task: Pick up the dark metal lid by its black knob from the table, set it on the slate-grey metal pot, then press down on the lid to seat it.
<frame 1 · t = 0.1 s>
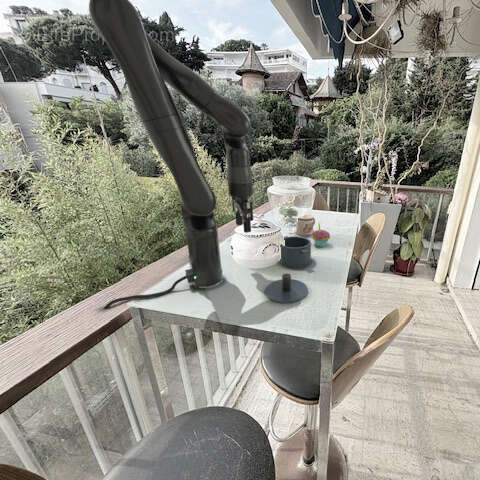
hand: (243, 228, 91), 17 cm above the table, tool pointing down, fingers open, 8 cm apart
lid: (286, 291, 85), point 1 cm above the table
teacup with lid: (306, 232, 140), on the table
cupcake: (320, 245, 125), on the table
pot: (294, 261, 107), on the table
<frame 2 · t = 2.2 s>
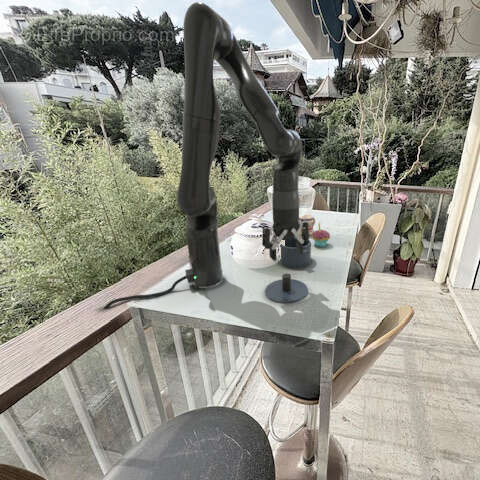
hand: (286, 256, 81), 13 cm above the table, tool pointing down, fingers open, 8 cm apart
nothing on the table moved.
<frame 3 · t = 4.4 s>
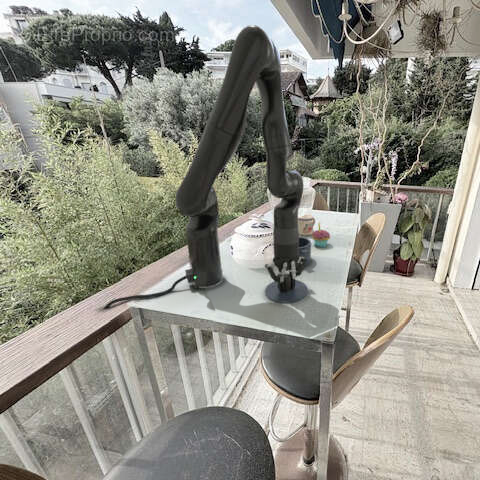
hand: (286, 289, 85), 1 cm above the table, tool pointing down, fingers closed on lid, 3 cm apart
lid: (286, 291, 85), point 1 cm above the table, touching gripper
everything else where it was.
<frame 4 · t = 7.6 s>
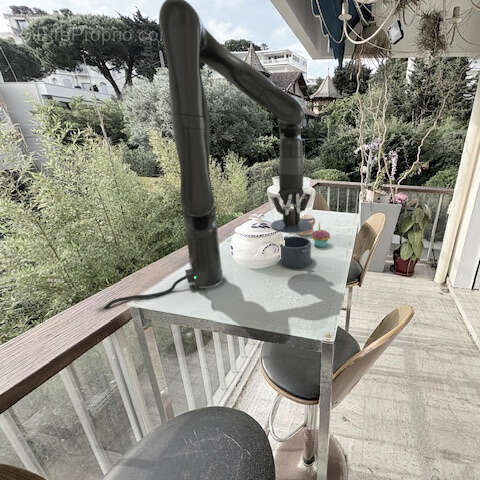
hand: (291, 223, 89), 20 cm above the table, tool pointing down, fingers closed on lid, 3 cm apart
lid: (291, 226, 90), point 19 cm above the table, touching gripper
everything else where it was.
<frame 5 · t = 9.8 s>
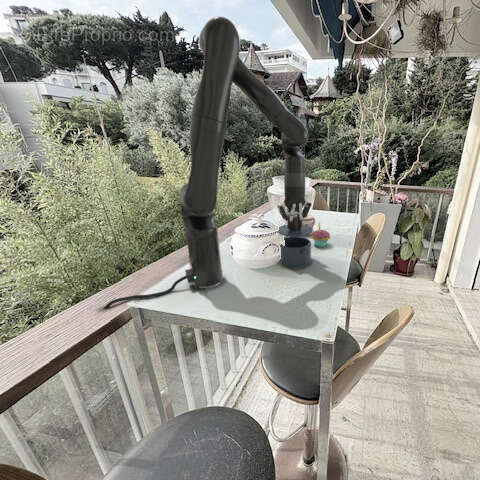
hand: (294, 229, 102), 14 cm above the table, tool pointing down, fingers closed on lid, 3 cm apart
lid: (294, 230, 102), point 13 cm above the table, touching gripper
everything else where it was.
when the fingers open (9 cm above the table, at t = 11.2 s): lid stays where it is, resting on pot.
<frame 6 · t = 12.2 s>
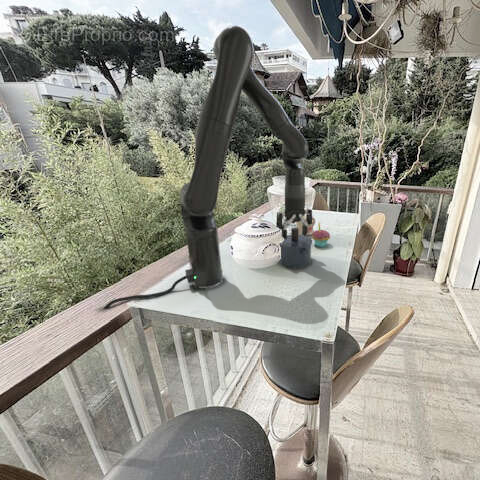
hand: (294, 236, 103), 11 cm above the table, tool pointing down, fingers open, 8 cm apart
lid: (294, 242, 104), point 8 cm above the table, touching pot
everything else where it was.
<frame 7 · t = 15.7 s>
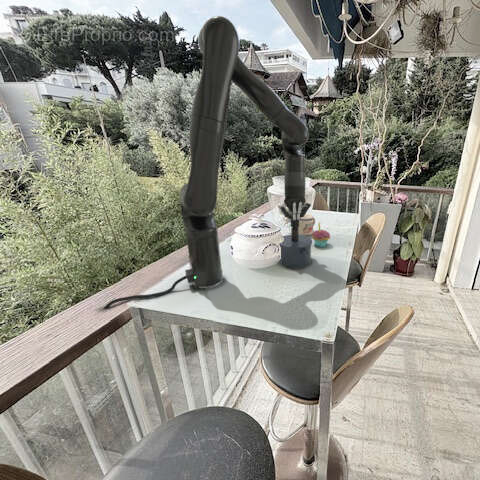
hand: (294, 228, 102), 14 cm above the table, tool pointing down, fingers closed
lid: (294, 242, 104), point 8 cm above the table, touching gripper, pot
everything else where it was.
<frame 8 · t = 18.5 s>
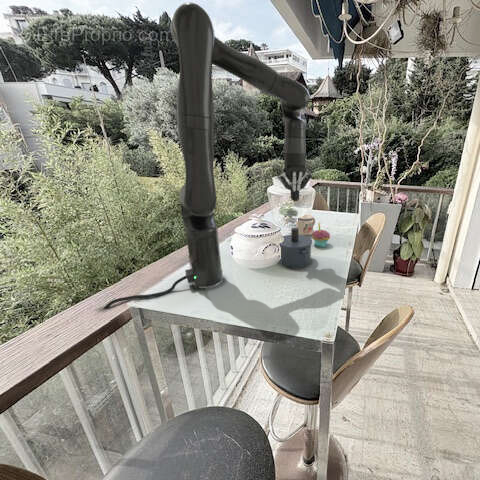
hand: (294, 200, 98), 25 cm above the table, tool pointing down, fingers closed
lid: (294, 242, 104), point 8 cm above the table, touching pot
everything else where it was.
at the end: lid 0.0 cm off-centre on the pot, point 8.5 cm above the pot's base; lid tilted 0°; the gripper is holding nothing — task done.
